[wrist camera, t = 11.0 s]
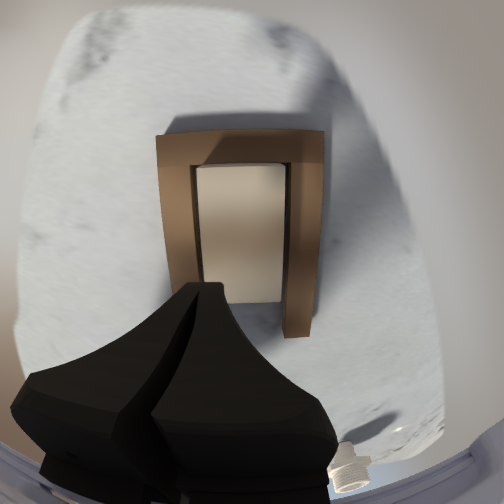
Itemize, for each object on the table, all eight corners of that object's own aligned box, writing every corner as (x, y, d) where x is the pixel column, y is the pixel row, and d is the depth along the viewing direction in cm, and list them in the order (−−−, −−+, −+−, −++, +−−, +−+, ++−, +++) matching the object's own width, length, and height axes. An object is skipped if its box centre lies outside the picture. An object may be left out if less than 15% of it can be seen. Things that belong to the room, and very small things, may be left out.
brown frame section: (305, 325, 22) (309, 336, 21) (185, 328, 22) (182, 340, 20) (317, 131, 16) (324, 131, 15) (162, 135, 16) (155, 135, 15)
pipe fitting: (343, 455, 34) (352, 492, 27) (311, 452, 33) (319, 495, 25) (370, 437, 32) (384, 477, 25) (340, 434, 31) (353, 480, 23)
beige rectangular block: (273, 272, 20) (280, 301, 17) (212, 273, 20) (206, 303, 16) (275, 160, 17) (285, 166, 13) (206, 162, 17) (196, 168, 13)
